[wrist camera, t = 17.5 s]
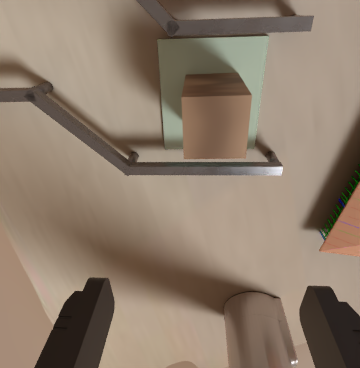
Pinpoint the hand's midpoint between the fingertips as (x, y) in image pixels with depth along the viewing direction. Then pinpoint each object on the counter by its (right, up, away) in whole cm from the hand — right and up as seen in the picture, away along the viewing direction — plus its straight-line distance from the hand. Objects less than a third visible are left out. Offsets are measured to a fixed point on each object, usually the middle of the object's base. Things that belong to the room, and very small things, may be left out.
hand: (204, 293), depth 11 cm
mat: (+2, +13, +16) cm, 21 cm away
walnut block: (+2, +13, +16) cm, 21 cm away
